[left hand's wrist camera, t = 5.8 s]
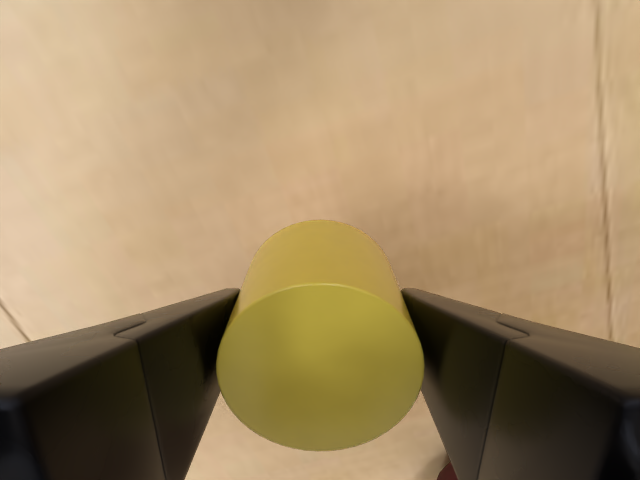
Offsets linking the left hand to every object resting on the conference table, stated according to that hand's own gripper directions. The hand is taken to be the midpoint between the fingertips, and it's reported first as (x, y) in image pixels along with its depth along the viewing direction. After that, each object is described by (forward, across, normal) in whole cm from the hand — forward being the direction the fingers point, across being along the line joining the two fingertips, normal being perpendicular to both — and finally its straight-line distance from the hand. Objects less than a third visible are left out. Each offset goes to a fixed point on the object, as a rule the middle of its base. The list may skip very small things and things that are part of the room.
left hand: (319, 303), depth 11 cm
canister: (+1, 0, 0) cm, 1 cm away
